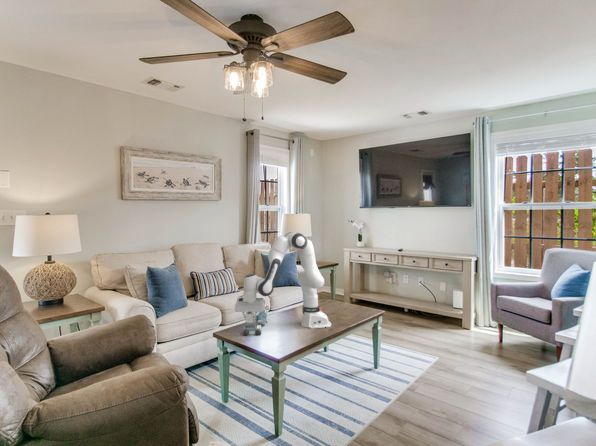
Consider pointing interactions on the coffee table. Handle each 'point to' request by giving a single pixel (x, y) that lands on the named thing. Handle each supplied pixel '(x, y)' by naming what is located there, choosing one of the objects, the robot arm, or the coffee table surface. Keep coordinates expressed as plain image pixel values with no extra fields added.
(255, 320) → the toy figure
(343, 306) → the coffee table surface
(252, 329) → the chassis
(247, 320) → the cube with round knob
